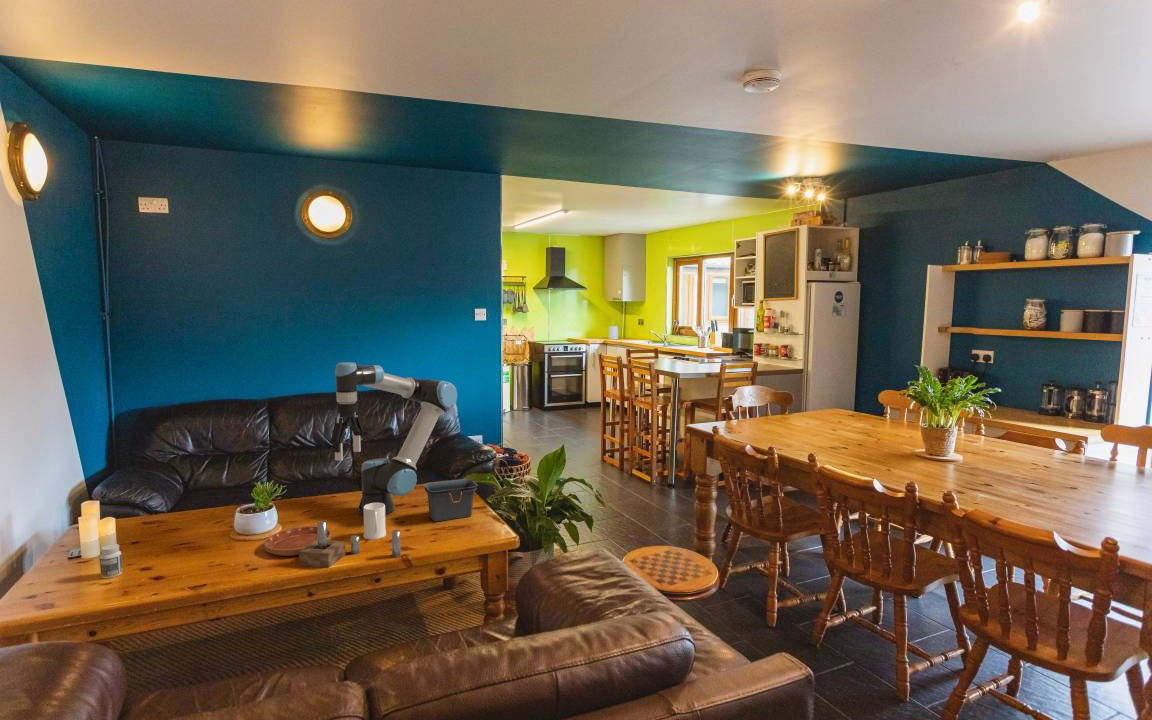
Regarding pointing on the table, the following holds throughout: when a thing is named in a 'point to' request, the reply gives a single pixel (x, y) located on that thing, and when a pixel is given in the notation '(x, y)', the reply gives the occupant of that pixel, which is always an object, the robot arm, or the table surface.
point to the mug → (374, 521)
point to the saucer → (292, 540)
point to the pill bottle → (111, 561)
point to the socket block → (322, 554)
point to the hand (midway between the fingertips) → (348, 455)
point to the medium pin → (396, 543)
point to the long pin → (322, 534)
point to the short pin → (355, 544)
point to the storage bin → (450, 499)
